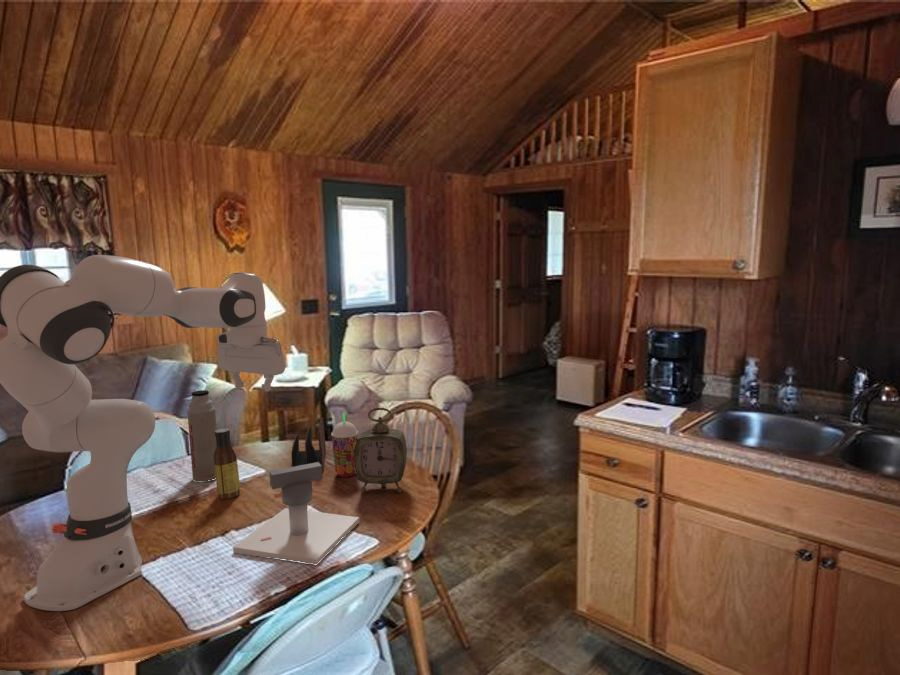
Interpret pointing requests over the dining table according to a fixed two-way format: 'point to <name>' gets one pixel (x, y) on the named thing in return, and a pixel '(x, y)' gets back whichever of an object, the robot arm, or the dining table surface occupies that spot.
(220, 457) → the sauce bottle
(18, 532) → the dining table surface
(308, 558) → the base
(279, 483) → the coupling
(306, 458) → the letter holder
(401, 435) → the tabletop clock
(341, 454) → the smoothie
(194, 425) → the thermos bottle
